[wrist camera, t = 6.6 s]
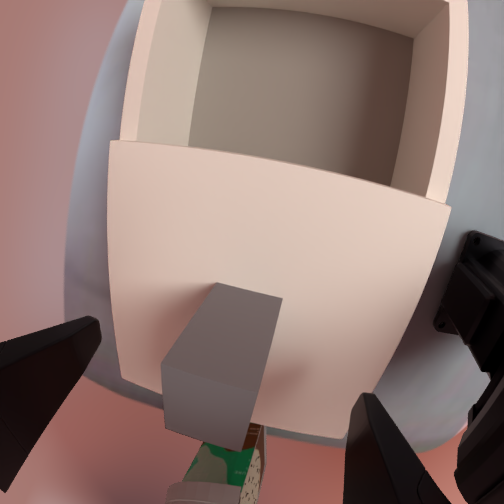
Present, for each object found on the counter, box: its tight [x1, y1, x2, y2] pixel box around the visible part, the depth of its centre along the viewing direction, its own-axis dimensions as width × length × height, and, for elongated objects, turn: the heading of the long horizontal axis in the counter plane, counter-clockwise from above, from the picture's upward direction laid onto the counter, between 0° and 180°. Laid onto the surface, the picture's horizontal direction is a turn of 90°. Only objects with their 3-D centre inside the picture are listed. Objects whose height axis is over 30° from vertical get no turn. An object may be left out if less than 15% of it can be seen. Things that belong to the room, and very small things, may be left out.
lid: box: [107, 140, 452, 452], centre depth 9 cm, size 12×12×5 cm
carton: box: [120, 0, 469, 204], centre depth 11 cm, size 12×12×6 cm
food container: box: [165, 422, 266, 504], centre depth 19 cm, size 12×6×10 cm, turn 3°
